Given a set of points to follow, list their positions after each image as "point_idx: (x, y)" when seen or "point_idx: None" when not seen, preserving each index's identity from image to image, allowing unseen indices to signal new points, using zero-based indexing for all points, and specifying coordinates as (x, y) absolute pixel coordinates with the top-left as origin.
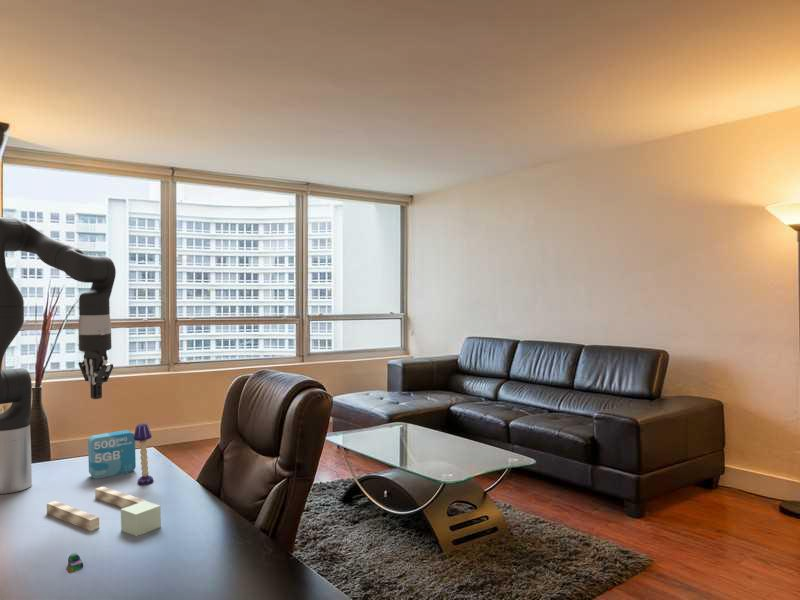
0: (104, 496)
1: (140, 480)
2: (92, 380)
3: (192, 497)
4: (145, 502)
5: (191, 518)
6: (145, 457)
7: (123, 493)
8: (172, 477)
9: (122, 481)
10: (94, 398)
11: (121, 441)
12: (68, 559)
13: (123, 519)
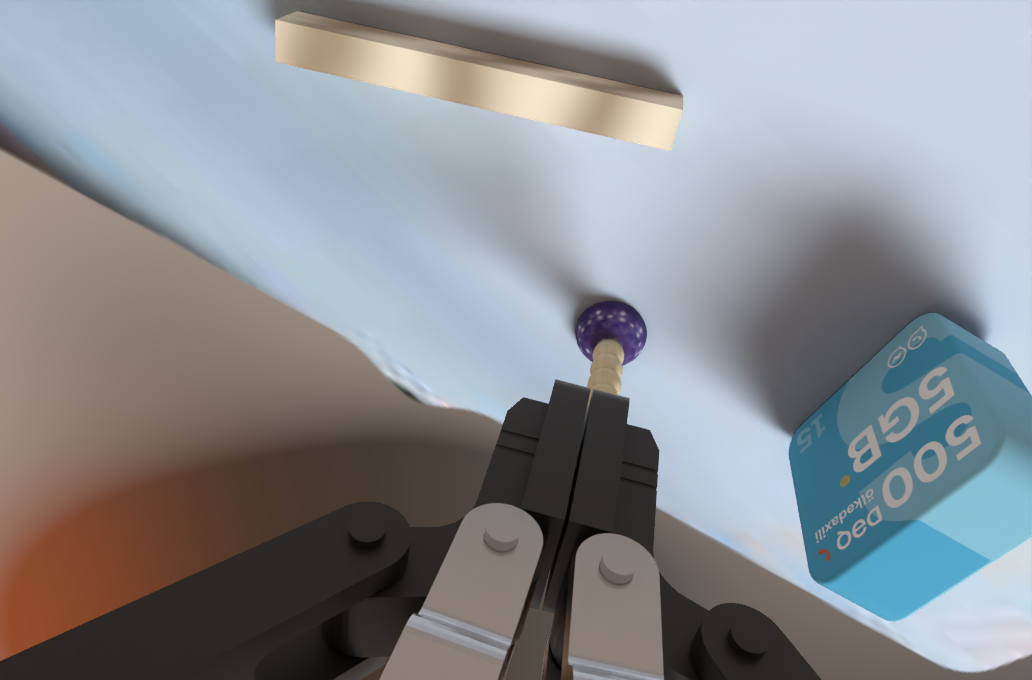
0: (592, 82)
1: (610, 316)
2: (517, 572)
3: (267, 239)
4: None
5: (64, 47)
6: None
7: (468, 102)
8: None
9: (739, 319)
10: (555, 385)
11: (858, 519)
12: None
13: None
